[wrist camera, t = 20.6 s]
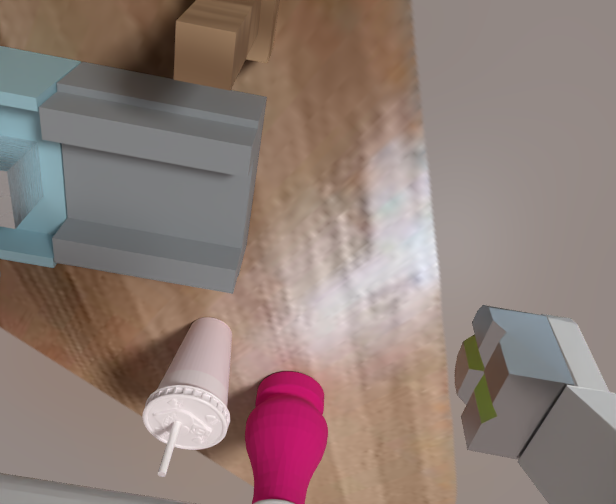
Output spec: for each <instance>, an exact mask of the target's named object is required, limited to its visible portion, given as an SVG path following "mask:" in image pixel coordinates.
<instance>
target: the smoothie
mask: <svg viewBox="0 0 616 504" xmlns="http://www.w3.org/2000/svg"><path fill="white" fill-rule="evenodd" d="M231 343H232V332H231V330H230V328H229V326H228V325H227V324H226V323H224V322H223V321H221V320H219V319H216V318H211V317H205V318H200V319H198V320H196V321H194V322H193V323H192V325H191V327H190V328H189V330H188V332H187V334H186V336H185V338H184V340H183V342H182V344H181V345H180V347H179V349H178V351H177V353H176V355H175V357H174V359H173V360H172V362H171V364H170V366H169V368H168V370H167V372H166V374H165V375H164V377H163V379H162V381H161V383H160V385H159V387H158V389H157V390H156V391H155V392H153V393H152V394H151V395H150V396H149V398H148V399H147V401H146V405H145V409H144V411H143V422H144V425H145V426H146V428H147V429H148V431H149V432H150V433H151V434H152V435H153V436H154V437H155V438H157V439H158V440H160V441H161V442H163V443H165V444H167V445H166V449H165V452H164V455H163V459H162V461H161V465H160V468H159V471H158V475H159V476H161V477H164V476H166V473H167V470H168V466H169V463H170V459H171V456H172V452H173V449H174V447H176V448H180V449H187V450H199V449H205V448H209V447H212V446H214V445H216V444H218V443H219V442H220V441H222V439H223V438H224V437H225V435H226V433H227V428H228V426H229V423H230V413H229V411H228V409H227V401H228V385H229V371H230V357H231Z"/></svg>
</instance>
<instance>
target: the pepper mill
mask: <svg viewBox="0 0 616 504" xmlns="http://www.w3.org/2000/svg"><path fill="white" fill-rule="evenodd" d="M255 406H256V408H255V409H254V410H253V411H252V412H251V413H250V415H249V417H248V419H247V422H246V430H245V442H246V449H247V453H248V456H249V459H250V462H251V465H252V469H253V475H254V497H253V501H252V504H305V498H306V492H307V488H308V485H309V482H310V479H311V477H312V475H313V473H314V471H315V470H316V468H317V466H318V464H319V463H320V461H321V459H322V456H323V454H324V451H325V448H326V444H327V437H328V427H327V423H326V421H325V419H324V417H323V416H322V414H323V409H324V392H323V389H322V388H321V386H320V385H319V383H318V382H316V381H315V380H314V379H313V378H312V377H309V376H307V375H305V374H303V373H298V372H293V371H283V372H279V373H274V374H272V375H270V376H268V377H267V378H265V379H264V380H263V381H262V382H261V383H260V385H259V387H258V391H257V397H256V403H255Z"/></svg>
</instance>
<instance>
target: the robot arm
mask: <svg viewBox="0 0 616 504" xmlns="http://www.w3.org/2000/svg"><path fill="white" fill-rule="evenodd" d="M0 275H1V273H0ZM472 324H473V329H474V333H475V335H473V336H471V337H470V338H468V339H466V340H465V341H463V343H462V346H461V348H460V351H459V353H458V356H457V361H456V366H455V386H456V393H457V395H458V396H459V398H460V399H461V400H462V401H463V402H464V403H465V404H466V407H465V409H464V411H463V413H462V415H461V419H462V424H463V429H464V435H465V440H466V444H467V450H471V451H476V452H481V453H486V454H492V455H497V456H502V457H508V458H513V459H518V463H519V465H520V466H521V467H522V469H523V470H524V471H525V473H526V474H527V475H528V477H529V478H530V479H531V480H532V482H533V483H534V485H535V486H536V487H537V489H538V490H539V491H540V493H541V494H542V495H543V497H544V498H545V499H546V501H547V502H548V503H549V504H616V393H612V392H609V390H608V388H607V386H606V384H605V382H604V379H603V377H602V375H601V373H600V371H599V369H598V367H597V365H596V362H595V360H594V359H593V356H592V354H591V352H590V350H589V348H588V346H587V343H586V341H585V340H584V337H583V335H582V333H581V331H580V329H579V327H578V325H577V323H576V322H575V321H573V320H572V319H571V318H565V317H558V316H552V315H544V314H541V315H538V314H533V313H527V312H521V311H515V310H509V309H503V308H497V307H491V306H486V305H482V307H481V308H480V309H479V310H478V311H477V313H476V315H475V317H474V319H473V321H472ZM0 504H196V503H189V502H183V501H176V500H170V499H164V498H157V497H150V496H145V495H138V494H132V493H125V492H118V491H112V490H106V489H99V488H93V487H87V486H80V485H73V484H67V483H61V482H54V481H48V480H41V479H35V478H29V477H22V476H16V475H9V474H3V473H0Z"/></svg>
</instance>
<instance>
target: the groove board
mask: <svg viewBox="0 0 616 504" xmlns="http://www.w3.org/2000/svg"><path fill="white" fill-rule="evenodd" d="M266 99H267V97H264V96H259V95H253V94H248V93H243V92H238V91H233V90H230V91H229V90H224V89H219V88H214V87H209V86H203V85H198V84H193V83H188V82H183V81H177V80H174V79H170V78H165V77H160V76H154V75H149V74H144V73H139V72H133V71H128V70H123V69H118V68H113V67H107V66H102V65H97V64H92V63H87V62H82V63H80V64H79V65H78V66H77V67H75V68H74V69H73V70H72V71H71V72H69V73H68V74H67V75H66V76H65V77H63V78H62V79H61V80H60V81H58V82H57V92H56V93H55V94H53V95H52V96H51V97H50V98H49V99H47V100H46V101H45V102H44V103H43V104H42V105H40V106H39V114H40V124H41V134H42V140H47V141H52V142H58V143H62V155H63V167H64V179H65V192H66V204H67V216H68V218H67V219H66V220H65V222H64V223H63V224H62V226H61V227H60V228H59V230H58V231H57V232H56V234H55V235H54V236H53V238H52V242H53V251H54V261H55V263H61V264H66V265H72V266H78V267H83V268H89V269H95V270H101V271H106V272H112V273H118V274H124V275H129V276H135V277H141V278H146V279H152V280H158V281H164V282H169V283H175V284H181V285H187V286H192V287H198V288H204V289H210V290H215V291H221V292H227V293H232V294H233V291H234V288H235V284H236V280H237V277H238V275H239V271H240V268H241V264H242V260H243V256H244V252H245V249H246V245H247V237H248V230H249V223H250V216H251V208H252V201H253V194H254V186H255V179H256V172H257V165H258V157H259V150H260V143H261V136H262V128H263V121H264V114H265V106H266Z"/></svg>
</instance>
